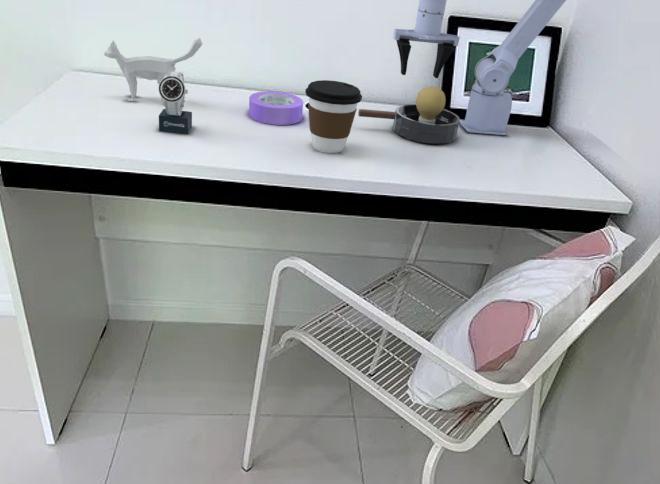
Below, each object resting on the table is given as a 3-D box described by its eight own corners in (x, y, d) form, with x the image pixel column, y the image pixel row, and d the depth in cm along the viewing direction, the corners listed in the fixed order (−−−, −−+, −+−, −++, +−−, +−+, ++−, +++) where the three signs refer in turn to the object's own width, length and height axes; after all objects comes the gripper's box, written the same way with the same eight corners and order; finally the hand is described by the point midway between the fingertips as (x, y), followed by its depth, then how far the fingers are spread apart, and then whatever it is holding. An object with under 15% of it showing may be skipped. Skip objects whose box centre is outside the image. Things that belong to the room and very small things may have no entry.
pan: (446, 125, 149) (450, 107, 146) (463, 147, 137) (467, 127, 135) (387, 121, 147) (390, 101, 144) (399, 142, 135) (402, 122, 132)
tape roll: (261, 126, 133) (262, 108, 131) (240, 108, 141) (241, 91, 139) (310, 123, 138) (312, 106, 136) (288, 106, 147) (289, 90, 145)
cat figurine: (109, 93, 139) (104, 26, 132) (203, 101, 142) (203, 36, 135) (106, 100, 135) (100, 30, 128) (201, 107, 139) (202, 40, 131)
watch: (156, 134, 122) (154, 76, 116) (166, 121, 129) (164, 65, 123) (186, 137, 122) (185, 80, 117) (194, 124, 129) (193, 69, 123)
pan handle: (393, 118, 140) (394, 110, 139) (394, 120, 138) (396, 113, 138) (357, 115, 138) (358, 107, 138) (358, 117, 137) (359, 110, 136)
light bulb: (431, 139, 138) (440, 93, 133) (405, 131, 140) (413, 85, 135) (443, 132, 143) (452, 88, 137) (418, 124, 145) (426, 80, 140)
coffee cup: (328, 134, 134) (335, 77, 127) (366, 152, 128) (374, 92, 121) (289, 143, 127) (294, 82, 120) (326, 161, 121) (333, 99, 114)
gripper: (402, 11, 132) (391, 77, 139) (468, 18, 135) (454, 83, 142) (395, 5, 138) (385, 68, 145) (459, 12, 141) (446, 74, 148)
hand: (419, 75), depth 144 cm, fingers open, 7 cm apart
